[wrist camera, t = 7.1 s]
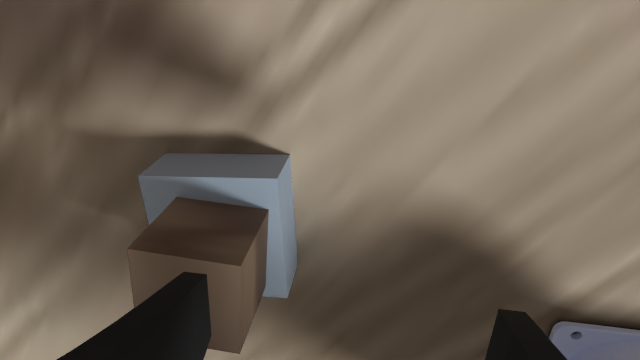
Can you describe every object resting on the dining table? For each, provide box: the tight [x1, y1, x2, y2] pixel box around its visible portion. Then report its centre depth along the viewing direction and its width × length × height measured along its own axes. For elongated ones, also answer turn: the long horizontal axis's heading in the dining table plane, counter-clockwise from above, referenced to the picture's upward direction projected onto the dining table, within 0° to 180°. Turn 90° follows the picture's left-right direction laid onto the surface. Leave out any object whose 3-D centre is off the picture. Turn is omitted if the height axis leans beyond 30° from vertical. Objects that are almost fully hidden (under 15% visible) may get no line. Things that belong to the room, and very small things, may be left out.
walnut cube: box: [127, 197, 269, 354], centre depth 18 cm, size 4×4×4 cm
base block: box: [138, 153, 298, 298], centre depth 21 cm, size 6×6×3 cm
